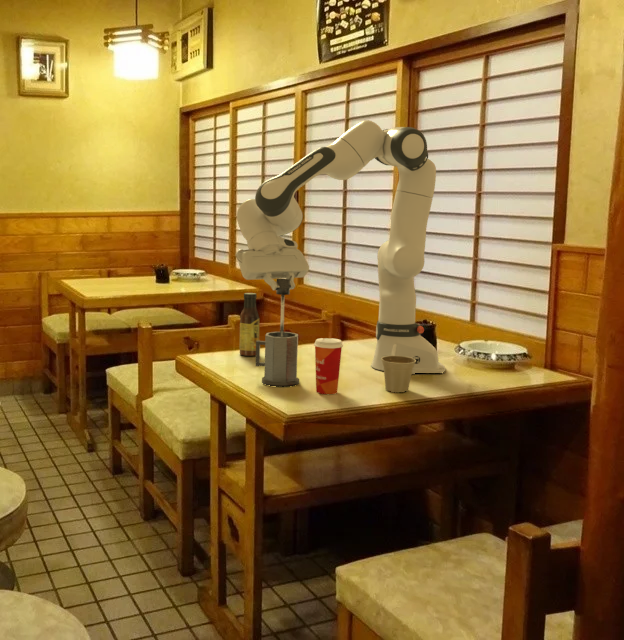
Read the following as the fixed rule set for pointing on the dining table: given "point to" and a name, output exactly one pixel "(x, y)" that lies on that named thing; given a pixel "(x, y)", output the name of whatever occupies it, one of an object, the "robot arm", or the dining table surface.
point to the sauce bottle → (249, 326)
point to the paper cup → (327, 364)
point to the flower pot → (397, 372)
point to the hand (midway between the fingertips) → (284, 288)
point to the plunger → (283, 291)
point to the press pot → (279, 359)
